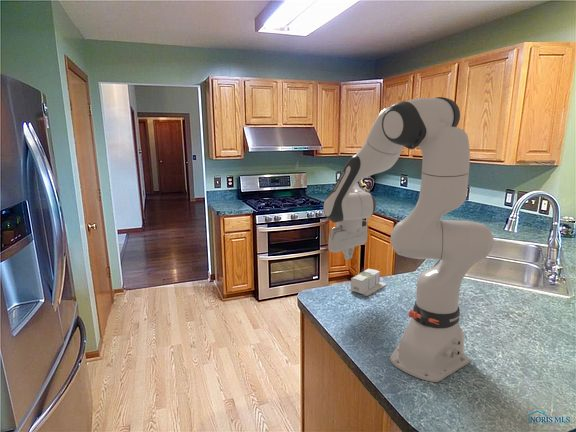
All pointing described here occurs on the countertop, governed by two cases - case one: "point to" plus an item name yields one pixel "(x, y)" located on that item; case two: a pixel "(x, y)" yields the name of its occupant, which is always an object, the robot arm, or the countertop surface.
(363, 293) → the cream flat rectangular slab
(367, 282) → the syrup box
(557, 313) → the countertop surface
